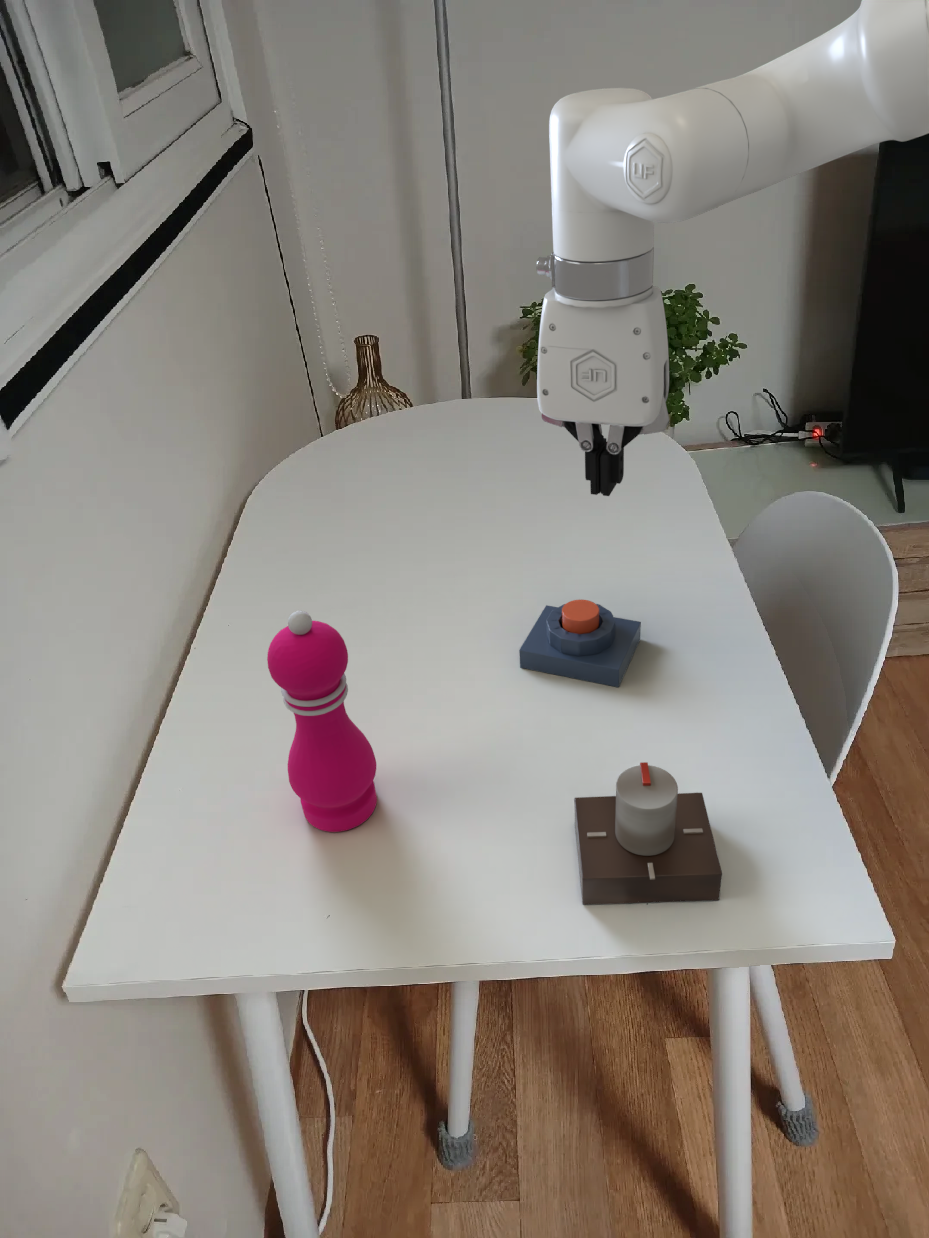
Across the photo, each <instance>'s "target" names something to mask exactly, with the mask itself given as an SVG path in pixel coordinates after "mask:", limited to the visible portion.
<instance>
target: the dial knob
mask: <svg viewBox="0 0 929 1238" xmlns="http://www.w3.org/2000/svg"><path fill="white" fill-rule="evenodd" d="M615 783H616V784H615V796H616V814H615V834H616V838H617V840H618V842H619V843H620V845H621V846H622V847H624V848H625V849H626V850H628V851H629V852H632V853H634V854H637V855H643V856H652V855H657V854H660V853H662V852H664V851H666V850H667V849H668V848H669V847H670V846H671V845H672V843H673V841H674V836H675V823H676V809H677V796H678V794H679V793H678V792H679V786H678V783H677V781H676V779H675V777H674V776H673V775H672V774H671V773H670V772H668V771H667V770H665V769H663V768H661V767H658V766H655V765H649V763H648V762H647V761H645V762H643V761H641V762H639V765H636V766H631V767H629V768H627V769H625V770H624V771H622V772H621V773H620V775H619V776H618V777H617V780H616V782H615Z"/></svg>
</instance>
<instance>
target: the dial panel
mask: <svg viewBox="0 0 929 1238" xmlns="http://www.w3.org/2000/svg"><path fill="white" fill-rule="evenodd" d="M573 800H574V802H573V803H574V809H573V810H574V831H575V832H574V833H575V841H576V851H577V860H578V861H577V862H578V871H579V881H580V882H579V883H580V893H581V903H582V905H587V906H588V905H613V904H614V905H615V904H645V903H646V904H648V903H675V902H677V903H678V902H680V903H681V902H704V901H705V902H710V901H720V895H721V886H722V878H723V871H722V867H721V863H720V860H719V855H718V851H717V847H716V843H715V839H714V834H713V832H712V827H711V823H710V818H709V815H708V811H707V808H706V807H707V806H706V803H705V799H704V796H703V792H685V793H683V792H682V793H680V792H679V793H678V796H677V809H676V823H675V836H674V841H673V843H672V845H671V846H670V847H669V848H668V849H667V850H666V851H664V852H662V853H660V854H657V855H652V856H643V855H637V854H634V853H632V852H629V851H628V850H626V849H625V848H624V847H622V846H621V845H620V843H619V842H618V840H617V838H616V834H615V814H616V795H607V796H606V795H605V796H581V797H574V799H573Z"/></svg>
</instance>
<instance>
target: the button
mask: <svg viewBox="0 0 929 1238" xmlns="http://www.w3.org/2000/svg"><path fill="white" fill-rule="evenodd" d="M564 604H565V605H564ZM564 604H563V605H564V606H563V608H562V626H563V628H564V629H565V630H566V631H567V632H570V633H576V634H586V633H591V632H593V631H595V630H597V628H598V627H599V607H598V606H597V605H596V604H597V603H595V602H594V601H592V600H588V599H573V600H570V601H568V602H566V603H564Z"/></svg>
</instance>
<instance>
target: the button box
mask: <svg viewBox="0 0 929 1238" xmlns="http://www.w3.org/2000/svg"><path fill="white" fill-rule="evenodd" d="M565 604H566V603H564V604H562V605H560V606H553V605H547V604H546V605H545V606H544V608H543V610H542V611H541V613H540V615H539V616H538V618H537V620H536V622H535V623H534V625H533V626H532V628H531V630H530V632H529V633H528V635H527V637H526V638H525V640H524V641H523V642H522V645H521V646H520V647H519V650H518V655H519V667H520V668H521V669H524V670H525V669H526V670H530V671H535V672H541V673H545V674H550V675H556V676H560V677H565V678H570V679H576V680H580V681H585V682H590V683H595V684H600V685H605V686H608V687H609V686H611V687H614V688H619V687H620V685H621V683H622V681H623V679H624V677H625V674H626V672H627V670H628V668H629V665H630V663H631V661H632V658H633V657H634V654H635V652H636V650H637V648H638V645H639V644H640V641H641V635H642V633H641V631H642V621H638V620H632V619H628V618H627V619H626V618H621V617H616V616H614V615H613V613H612V611H611V610H609V609H608V608H606V607H604V606H603V605H601V604H599V603H595V604H596V605H597V606H598V607H599V627H598V628H597V630H595V631H593V632H591V633H586V634H576V633H570V632H567V631H566V630H565V629H564V628H563V626H562V608H563V606H564V605H565Z"/></svg>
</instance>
